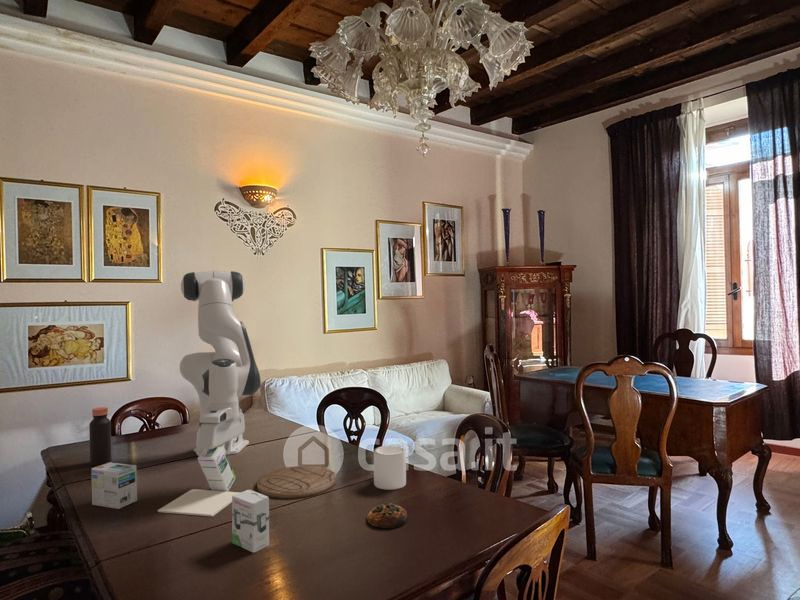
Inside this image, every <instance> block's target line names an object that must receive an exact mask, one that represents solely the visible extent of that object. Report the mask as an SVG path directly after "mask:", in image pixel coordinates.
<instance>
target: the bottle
mask: <svg viewBox="0 0 800 600" xmlns="http://www.w3.org/2000/svg"><path fill="white" fill-rule="evenodd" d="M91 412H92V413H91V414H92V415H91V416H92V417H93V418H92V420H91V421H90V422H89V424H88V425H89V426H88V427H89V464H90V466H95V467H98V466H101V465H104V464H107V463H109V462H112V421H111V420H110V419H109V418H108V414H109V407H106V406H103V407H101V406H100V407H95V408H92V410H91Z"/></svg>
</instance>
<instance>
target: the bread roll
mask: <svg viewBox="0 0 800 600" xmlns="http://www.w3.org/2000/svg"><path fill="white" fill-rule="evenodd" d="M366 518H367V519H366V520H367V522H368V523H369V524H370V525H371V526H372V527H376V528H379V529H395V528H400V527H402V526H404V525H405V523H407V520H408V513H407V511H406V509H405V508H404V507H403V506H400V505H397V504H394V503H384V504H383V503H382V504H380V505H379V506H376V507H374V508H372V509H371V510H370V511H369V512H368V514H367V515H366Z"/></svg>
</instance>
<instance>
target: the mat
mask: <svg viewBox="0 0 800 600" xmlns="http://www.w3.org/2000/svg"><path fill="white" fill-rule="evenodd" d="M238 493H241V492H240V491H239V492H238V491H236V492H235V491H228V492H226V491H212V490H211V489H199V488H195V489H194V488H192V489H190V490H188V491H187V492H185V493H183V494H182V495H180V496H179V497H177V498H175V499H174V500H172V501H171V502H169V503H167V504H165V505H164V506H162V507H161V508H159V509H157V512H158V513H165V514H176V515H177V514H179V515H187V516H189V515H191V516H201V517H214V516H215V515H216V514H218V513H219V512H221V511H222V510H223V509H224V508H226V507H227V506H229V505H230V504H232V496H233V495H236V494H238Z"/></svg>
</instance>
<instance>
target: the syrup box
mask: <svg viewBox="0 0 800 600" xmlns="http://www.w3.org/2000/svg"><path fill="white" fill-rule="evenodd" d="M197 460H198V463H199V465H200V467H201V470H202V472H203V474H204V476H205V478H206V481H207V483H208V485H209V488H210V490H212V491H226V492H230V489H231V487H232V486H233V484H234V482H235V480H236V478H237V476H236V473H235V471H234V469H233V466H232V464H231V461H230V459H229V457H228V455H227V454H226V451H225V449H224V446H223V445H219V446H217V447H215V448H213V449H204V450H203V451H202V452H201V454H200V455H199V456H198V457H197Z"/></svg>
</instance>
